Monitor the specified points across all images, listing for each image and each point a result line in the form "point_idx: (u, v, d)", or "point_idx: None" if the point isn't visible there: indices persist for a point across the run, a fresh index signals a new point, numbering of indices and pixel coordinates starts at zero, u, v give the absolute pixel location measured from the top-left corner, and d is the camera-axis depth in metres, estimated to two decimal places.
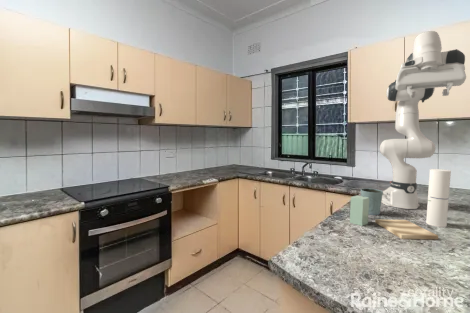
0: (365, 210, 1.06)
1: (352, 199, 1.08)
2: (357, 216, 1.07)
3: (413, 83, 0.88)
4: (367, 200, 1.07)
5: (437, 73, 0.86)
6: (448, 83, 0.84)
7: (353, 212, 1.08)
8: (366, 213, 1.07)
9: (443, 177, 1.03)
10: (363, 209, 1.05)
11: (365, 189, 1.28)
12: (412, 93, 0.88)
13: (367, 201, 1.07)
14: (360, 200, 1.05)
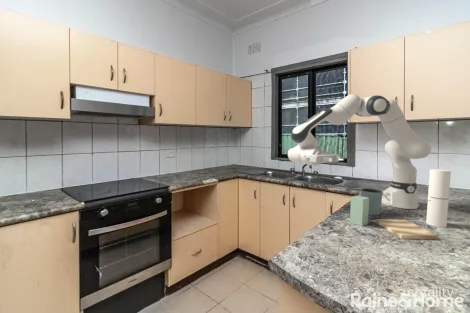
0: (365, 210, 1.06)
1: (352, 199, 1.08)
2: (357, 216, 1.07)
3: (333, 161, 1.23)
4: (367, 200, 1.07)
5: None
6: None
7: (353, 212, 1.08)
8: (366, 213, 1.07)
9: (443, 177, 1.03)
10: (363, 209, 1.05)
11: (365, 189, 1.28)
12: (341, 160, 1.20)
13: (367, 201, 1.07)
14: (360, 200, 1.05)
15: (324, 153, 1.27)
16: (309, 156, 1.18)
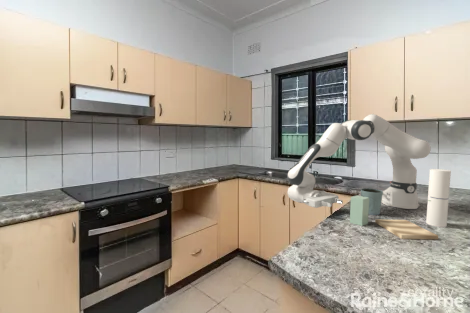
0: (365, 210, 1.06)
1: (352, 199, 1.08)
2: (357, 216, 1.07)
3: (332, 203, 1.25)
4: (367, 200, 1.07)
5: None
6: None
7: (353, 212, 1.08)
8: (366, 213, 1.07)
9: (443, 177, 1.03)
10: (363, 209, 1.05)
11: (365, 189, 1.28)
12: None
13: (367, 201, 1.07)
14: (360, 200, 1.05)
15: (323, 194, 1.29)
16: (308, 200, 1.20)
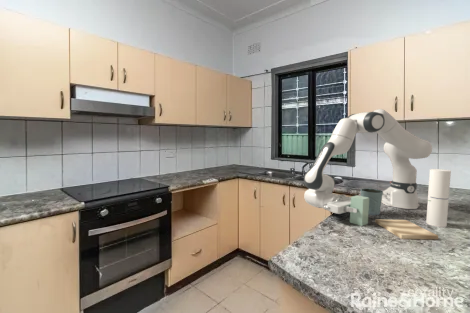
0: (365, 210, 1.06)
1: (352, 199, 1.08)
2: (357, 216, 1.07)
3: None
4: (367, 200, 1.07)
5: None
6: None
7: (353, 212, 1.08)
8: (366, 213, 1.07)
9: (443, 177, 1.03)
10: (363, 209, 1.05)
11: (365, 189, 1.28)
12: None
13: (367, 201, 1.07)
14: (360, 200, 1.05)
15: (344, 198, 1.19)
16: (329, 205, 1.10)
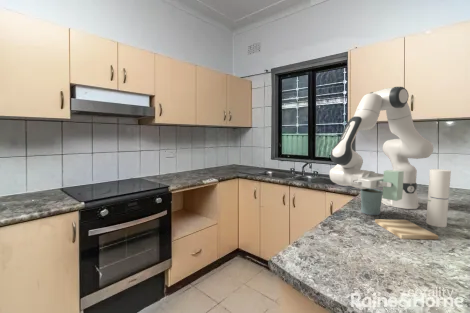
0: (400, 184, 0.99)
1: (385, 173, 1.01)
2: (391, 190, 1.00)
3: None
4: (402, 173, 1.00)
5: None
6: None
7: None
8: (401, 187, 1.00)
9: (443, 177, 1.03)
10: (398, 182, 0.98)
11: (365, 189, 1.28)
12: None
13: (402, 175, 1.00)
14: (395, 173, 0.98)
15: (374, 174, 1.12)
16: (361, 180, 1.03)
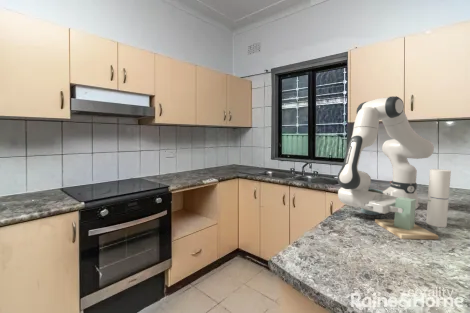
0: (412, 212, 0.98)
1: (397, 201, 1.00)
2: (404, 219, 0.98)
3: None
4: (414, 202, 0.99)
5: None
6: None
7: (399, 215, 0.99)
8: (413, 216, 0.99)
9: (443, 177, 1.03)
10: (410, 211, 0.97)
11: None
12: None
13: (414, 203, 0.98)
14: (407, 202, 0.97)
15: (385, 197, 1.10)
16: (372, 204, 1.01)
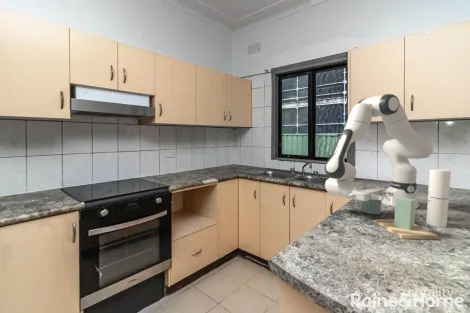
0: (412, 212, 0.98)
1: (397, 201, 1.00)
2: (404, 219, 0.98)
3: (380, 196, 1.12)
4: (414, 202, 0.99)
5: None
6: None
7: (399, 215, 0.99)
8: (413, 216, 0.99)
9: (443, 177, 1.03)
10: (410, 211, 0.97)
11: None
12: None
13: (414, 203, 0.98)
14: (407, 202, 0.97)
15: (368, 186, 1.17)
16: (355, 193, 1.08)
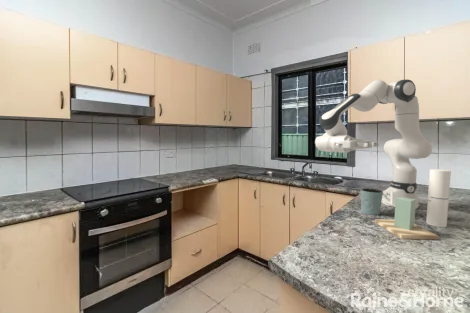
0: (412, 212, 0.98)
1: (397, 201, 1.00)
2: (404, 219, 0.98)
3: (366, 147, 1.16)
4: (414, 202, 0.99)
5: None
6: None
7: (399, 215, 0.99)
8: (413, 216, 0.99)
9: (443, 177, 1.03)
10: (410, 211, 0.97)
11: (365, 189, 1.28)
12: None
13: (414, 203, 0.98)
14: (407, 202, 0.97)
15: (355, 139, 1.21)
16: (342, 142, 1.12)
